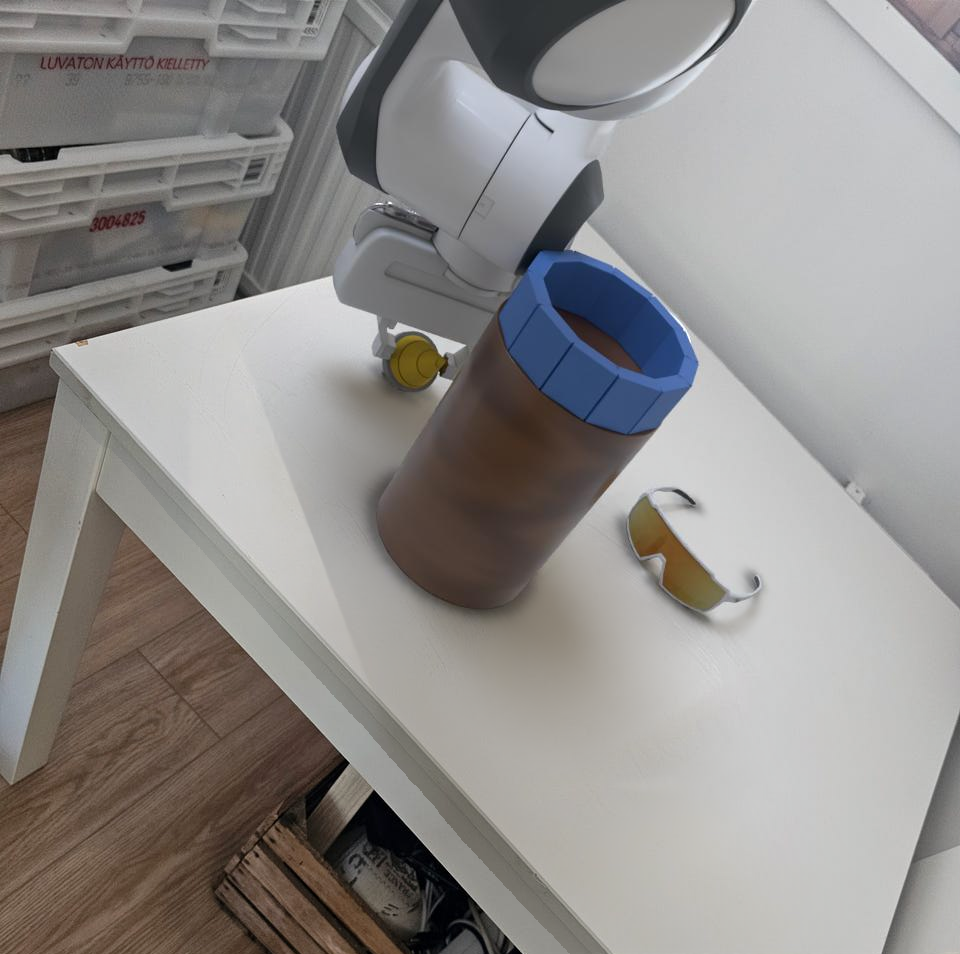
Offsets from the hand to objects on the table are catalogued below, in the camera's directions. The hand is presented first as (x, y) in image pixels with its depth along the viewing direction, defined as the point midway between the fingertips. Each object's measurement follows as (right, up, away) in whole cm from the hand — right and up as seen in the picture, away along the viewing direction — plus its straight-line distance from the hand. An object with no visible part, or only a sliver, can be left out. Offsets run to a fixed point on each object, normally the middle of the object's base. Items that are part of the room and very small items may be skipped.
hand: (413, 364), depth 94 cm
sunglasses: (+26, -17, +8) cm, 32 cm away
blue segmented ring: (+13, -5, -21) cm, 25 cm away
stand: (+4, -17, -7) cm, 19 cm away
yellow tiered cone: (-1, -2, +2) cm, 3 cm away
